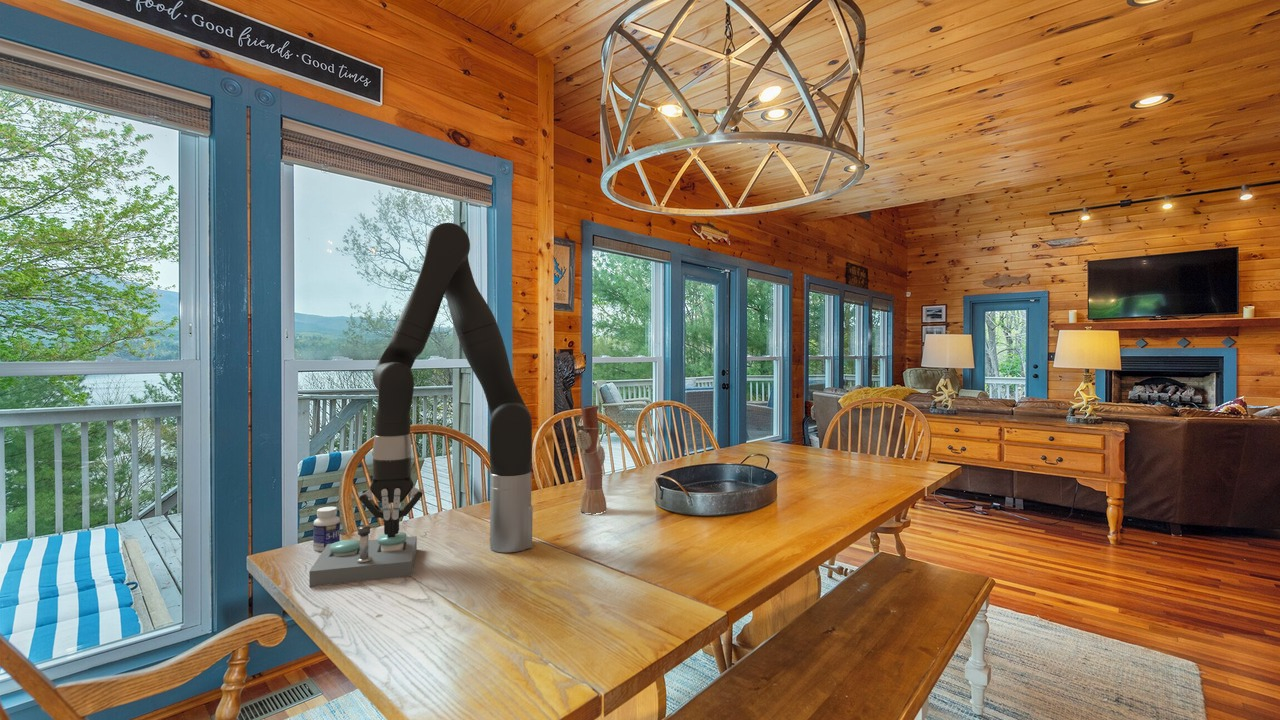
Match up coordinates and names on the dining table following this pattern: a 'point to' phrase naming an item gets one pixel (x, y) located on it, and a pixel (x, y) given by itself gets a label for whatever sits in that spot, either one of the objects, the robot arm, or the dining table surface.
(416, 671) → the dining table surface
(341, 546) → the knob
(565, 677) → the dining table surface
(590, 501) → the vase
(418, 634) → the dining table surface
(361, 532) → the post
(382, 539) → the knob
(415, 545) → the mount board
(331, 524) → the pill bottle
